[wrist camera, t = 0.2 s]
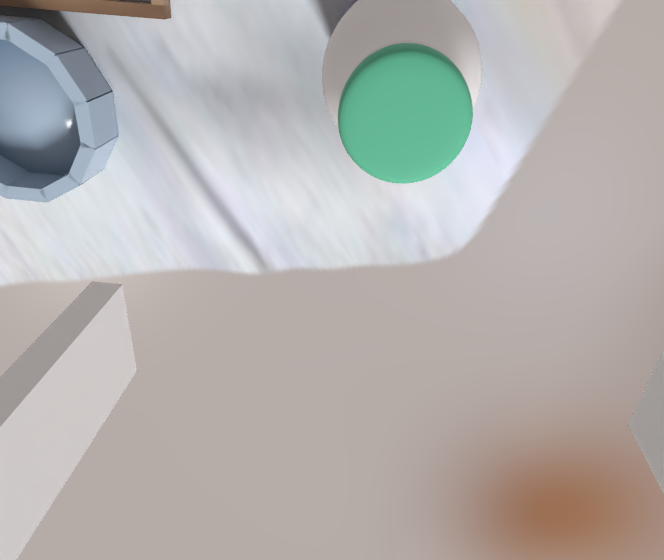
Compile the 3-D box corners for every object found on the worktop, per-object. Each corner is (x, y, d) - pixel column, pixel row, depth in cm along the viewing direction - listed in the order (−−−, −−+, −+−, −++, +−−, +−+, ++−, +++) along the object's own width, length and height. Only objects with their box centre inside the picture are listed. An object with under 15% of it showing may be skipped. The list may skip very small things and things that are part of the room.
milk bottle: (316, 62, 36) (249, 146, 19) (387, -48, 32) (383, -70, 15) (406, 130, 38) (419, 264, 20) (482, 32, 34) (577, 95, 17)
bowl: (-67, 9, 37) (-109, 13, 33) (102, 23, 36) (75, 28, 33) (-20, 176, 43) (-52, 192, 40) (126, 190, 42) (105, 208, 39)
